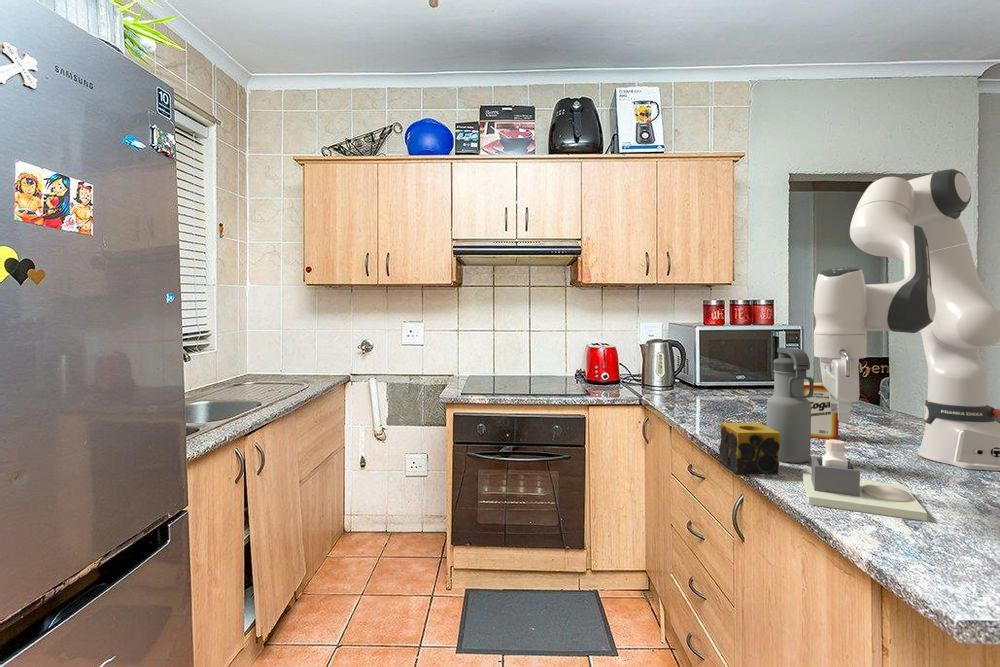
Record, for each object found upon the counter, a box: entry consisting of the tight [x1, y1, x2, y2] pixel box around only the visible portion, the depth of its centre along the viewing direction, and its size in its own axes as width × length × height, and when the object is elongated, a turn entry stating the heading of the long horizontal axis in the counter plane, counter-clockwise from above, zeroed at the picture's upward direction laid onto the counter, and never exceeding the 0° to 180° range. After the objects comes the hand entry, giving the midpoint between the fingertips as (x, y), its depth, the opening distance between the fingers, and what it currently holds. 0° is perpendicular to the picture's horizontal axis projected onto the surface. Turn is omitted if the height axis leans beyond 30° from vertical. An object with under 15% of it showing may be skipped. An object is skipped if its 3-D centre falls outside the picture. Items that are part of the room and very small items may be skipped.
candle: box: [718, 422, 780, 475], centre depth 121 cm, size 10×10×10 cm
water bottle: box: [766, 347, 815, 464], centre depth 128 cm, size 10×10×28 cm
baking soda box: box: [804, 381, 840, 440], centre depth 150 cm, size 10×6×16 cm
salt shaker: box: [821, 439, 848, 469], centre depth 103 cm, size 4×4×10 cm
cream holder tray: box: [802, 456, 928, 522], centre depth 101 cm, size 18×16×6 cm
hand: (839, 417), depth 102 cm, fingers open, 8 cm apart
